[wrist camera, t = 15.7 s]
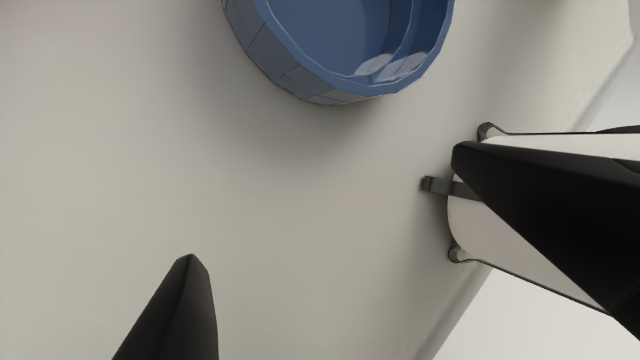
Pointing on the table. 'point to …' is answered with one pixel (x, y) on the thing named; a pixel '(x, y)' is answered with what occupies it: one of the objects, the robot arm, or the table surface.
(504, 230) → the coffee press
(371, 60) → the bowl
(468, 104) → the table surface
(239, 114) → the table surface
